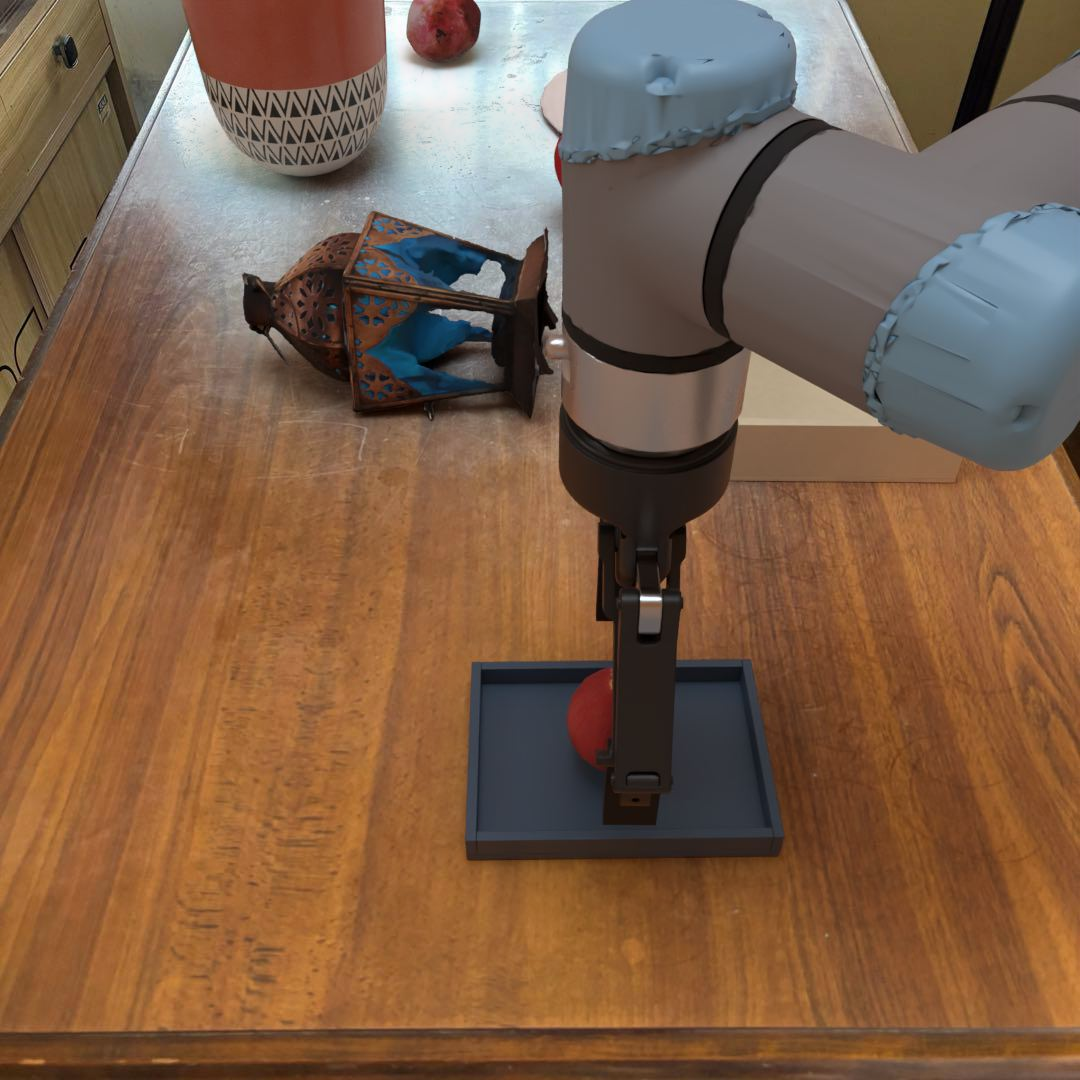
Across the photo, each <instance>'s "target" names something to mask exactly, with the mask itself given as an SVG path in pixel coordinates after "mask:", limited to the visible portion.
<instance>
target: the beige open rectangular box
mask: <svg viewBox="0 0 1080 1080" xmlns="http://www.w3.org/2000/svg"><path fill="white" fill-rule="evenodd" d="M963 460H964V457H961V456H959V455H957V454H955V453H952V452H950V451H948V450H945V449H943V448H941V447H939V446H936V445H934V444H932V443H930V442H927V441H925V440H923V439H921V438H915V439H914V438H912V437H910V436H908V435H906V434H902V435H899V434H897V433H895V432H893V431H892V430H891V429H890V428H889V427H886V426H883V425H882V424H880V423H879V422H878V419H877V418H874V417H873V416H871V415H869V414H867V413H866V412H864V411H862V410H860V409H858V408H856V407H854V406H853V405H851V404H849V403H847V402H845V401H843V400H842V399H840V398H838V397H836V396H834V395H832V394H830V393H829V392H827V391H825V390H823V389H821V388H819V387H817V386H816V385H814V384H812V383H810V382H808V381H806V380H804V379H803V378H801V377H799V376H797V375H795V374H793V373H791V372H790V371H788V370H786V369H784V368H782V367H780V366H778V365H777V364H775V363H773V362H771V361H769V360H767V359H765V358H764V357H762V356H760V355H758V354H756V353H754V352H751V358H750V364H749V370H748V376H747V382H746V388H745V395H744V401H743V407H742V412H741V414H740V415H739V417H738V431H737V437H736V443H735V449H734V456H733V462H732V468H731V474H730V480H729V482H732V481H733V482H826V483H827V482H830V483H831V482H833V483H835V482H838V483H840V482H841V483H842V482H844V483H936V484H937V483H938V484H939V483H945V484H947V483H949V484H950V483H952V484H953V483H956V479H957V477H958V473H959V471H960V467H961V466H962V462H963Z"/></svg>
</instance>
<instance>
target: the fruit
mask: <svg viewBox="0 0 1080 1080" xmlns="http://www.w3.org/2000/svg"><path fill="white" fill-rule="evenodd" d="M481 23H482V12H481V9H480V7H479V5H478V3H476V1H475V0H412V2H411V4H410V6H409V8H408V13H407V19H406V31H405V35H406V38H407V41H408V43H409V45H410V46H411V48H412V50H413V51H414V52H415V53H416V55H418V56H419V57H420V58H423V59H425V60H429V61H433V62H438V63H443V62H451V61H454V60H456V59H457V58H459V57H461V56H462V55H463V54H465V53H468V52H469V50H471V49H472V48H473V47H475V45H476V43H477V42H478V40H479V38H480V37H479V36H480V31H481Z"/></svg>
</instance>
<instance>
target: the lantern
mask: <svg viewBox="0 0 1080 1080" xmlns="http://www.w3.org/2000/svg"><path fill="white" fill-rule="evenodd" d="M542 229H543V234H541V235H539V236H538V237H536V238H535V239H534V240H533V241H531V243H530V244H529V246H528V247H527V248H526V249H525V255H524V257H523V258H522V259H518V258H516V257H513V256H512V255H510V254H508V253H503V252H500V251H497V250H494V249H490V248H488V247H485V246H483V245H481V244H477V243H473V242H471V241H469V240H466V239H462V238H459V237H453V236H452V235H450V234H447V233H444V232H441V231H438V230H435V229H432V228H429V227H427V226H423V225H420V224H417V223H413V222H409V221H407V220H405V219H401V218H399V217H394V216H391V215H388V214H385V213H383V212H380V211H375V210H370V212H369V213H368V214H367V219H366V221H365V223H364V226H363V227H362V231H361V232H352V231H349V232H348V231H347V232H340V233H337V234H334V235H330V236H328V237H326V238H325V239H322V240H321V241H319V242H317V243H316V244H315V245H314V246H313V247H311V248H309V250H308V251H306V253H305V254H304V255H302V257H300V258H299V259H298V261H296V262H295V263H294V264H293V265H292V267H291V268H289V270H288V271H287V272H286V273H285V274H284V275H283V276H282V277H281V278H280V279H278V280H277V281H267V280H262V279H261V277H260V276H258V275H254V274H252V273H247V272H242V273H241V277H242V281H243V296H242V310H243V316H244V321H245V322H246V324H247V325H248V328H249V330H250V331H253V332H254V333H256V334H258V335H263V336H264V337H266V339H267V340H268V341H269V344H270V345H271V347H272V348H273V350H274V351H275V352H276V353H277V355H278V356H279V357H280V358H281V360H283V362H284V363H285V364H286V366H289V367H290V366H292V362H290V361H288V359H287V358H286V357H285V356H284V354H283V353H282V351H281V349H280V347H279V346H278V344H276V343H275V341H274V339H273V338H272V337H271V335H270V331H271V328H273V329H275V330H276V331H277V332H278V333H279V334H280V335H281V336H282V337H283V339H284V340H286V341H287V342H288V344H289V345H291V346H292V347H293V348H294V349H295V350H296V351H297V352H298V353H299V355H301V356H302V357H303V358H304V360H306V361H307V362H308V363H309V364H310V365H311V366H312V367H313V368H314V369H316V370H317V371H319V372H320V373H322V374H323V375H325V376H327V377H329V378H331V379H333V380H335V381H339V382H341V383H350V388H351V389H350V390H351V408H352V412H353V413H354V414H363V413H369V412H374V411H382V410H389V409H398V408H404V407H406V406H409V405H418V404H421V403H422V404H424V406H423V410H424V411H427V412H428V413H427V415H428V419H429V420H430V421H433V420H434V416H435V411H434V408H433V405H434V404H435V403H439V402H441V401H447V400H455V399H458V398H464V397H472V396H473V397H474V396H480V395H484V394H496V393H508V394H510V395H511V397H512V398H513V399H514V400H515V401H516V402H517V403H518V404H519V406H521V408H522V410H523V412H524V413H525V414H526V416H527V417H528V419H529V420H531V419H532V417H533V413H534V407H535V400H536V394H537V388H538V387H537V386H538V382H539V380H540V376H543V375H549V376H552V375H553V376H554V374H555V371H554V370H553V368H551V367H550V365H549V363H548V360H547V359H546V357H545V355H544V352H543V351H544V341H543V336H544V332H545V329H546V327H548V330H549V331H553V330H556V329H557V323H558V322H559V318H558V316H557V315H556V313H555V311H554V310H553V308H552V306H551V305H550V303H549V301H548V300H549V295H548V291H547V281H548V275H549V272H548V268H549V245H550V242H549V229H548V226H546V225H544V226H542ZM488 260H489V261H490V262H495V263H498V264H499V265H500V270H501V272H502V273H503V274H504V277H505V278H504V279H505V280H504V281H503V284H502V286H501V287H500V292H499V296H498V297H493V296H488V295H484V294H477V293H476V292H472V291H466V290H464V289H461V290H456V289H455V288H453V287H451V286H452V285H453V284H454V283H457V282H458V281H459V279H460V278H461V277H462V276H464V275H475V276H478V274H480V272H481V271H482V267H483V265H485V263H486V261H488ZM436 310H440V311H451V310H456V311H468V312H483V313H486V314H488V315H489V314H490V315H493V319H492V323H491V326H490V327H491V329H490V330H491V331H490V330H489V329H488V328H486V327H483V326H476V325H475V326H474V325H471V324H472V322H471V321H468V320H464V319H461V318H460V319H458V320H450V319H449V318H448V317H447V316H445V315H441V314H439V313H432V312H434V311H436ZM466 342H467V343H469V342H470V343H490V353H491V357H492V359H493V360H494V364H495V365H496V366H498V367H499V368H503V378H502V382H498V383H493V382H486V381H485V380H480V379H476V378H474V379H468V378H463V377H458V376H456V375H451V374H449V373H447V372H445V371H444V370H442V371H441V370H440V371H435V370H432V369H430V367H426V366H423V365H421V364H422V363H425V362H429V361H431V360H433V359H436V358H438V357H440V356H442V355H444V354H445V353H447V352H449V351H450V350H453V349H454V348H455V347H457V346H459V345H460V346H461V345H462V344H464V343H466Z"/></svg>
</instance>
